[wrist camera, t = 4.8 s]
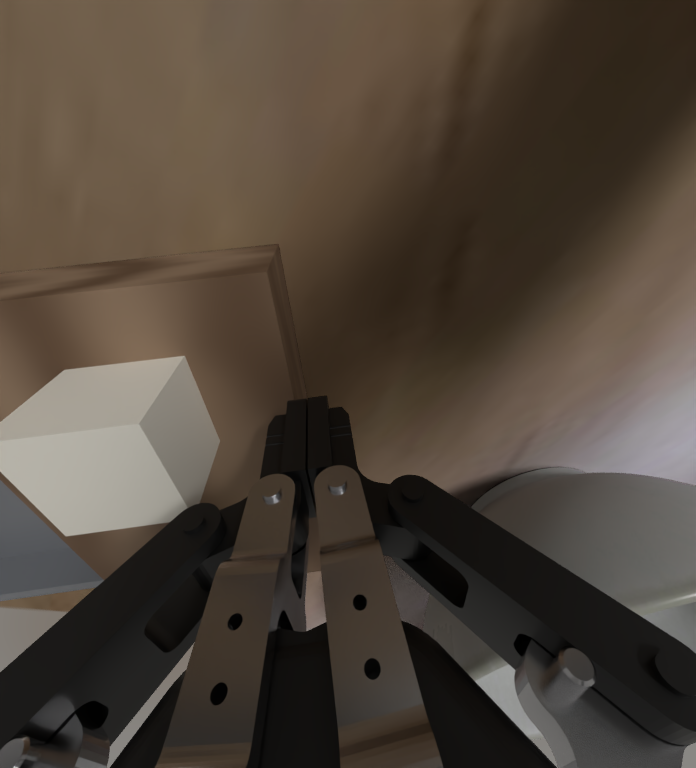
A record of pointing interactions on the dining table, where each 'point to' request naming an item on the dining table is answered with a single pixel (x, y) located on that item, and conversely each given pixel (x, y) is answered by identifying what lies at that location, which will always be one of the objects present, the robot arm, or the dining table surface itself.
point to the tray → (36, 555)
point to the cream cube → (111, 446)
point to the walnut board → (163, 356)
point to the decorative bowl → (588, 557)
